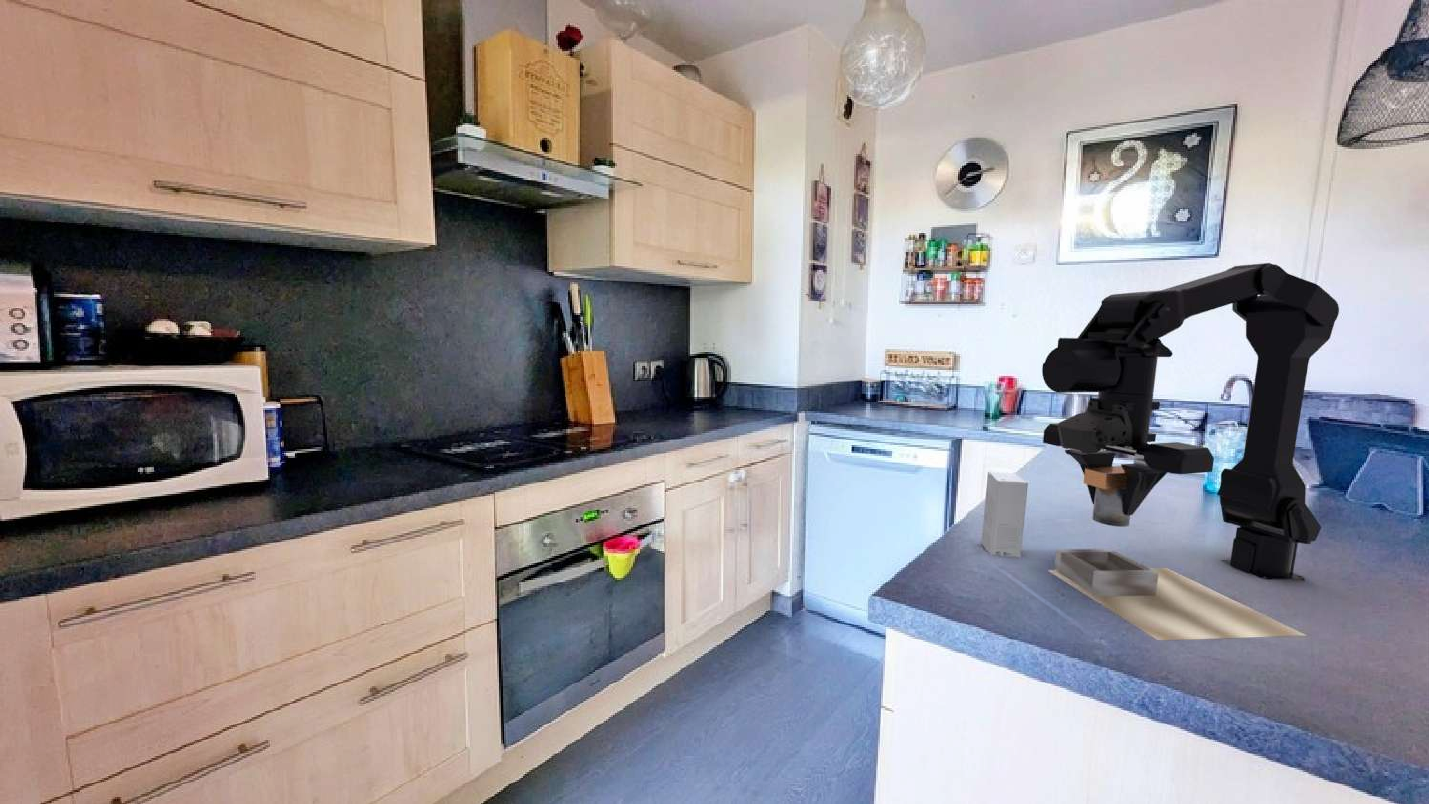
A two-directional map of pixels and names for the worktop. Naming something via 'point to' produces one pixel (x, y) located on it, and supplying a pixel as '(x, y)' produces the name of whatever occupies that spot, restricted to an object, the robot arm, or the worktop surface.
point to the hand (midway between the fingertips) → (1112, 509)
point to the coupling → (1108, 494)
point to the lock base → (1161, 599)
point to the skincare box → (1004, 514)
